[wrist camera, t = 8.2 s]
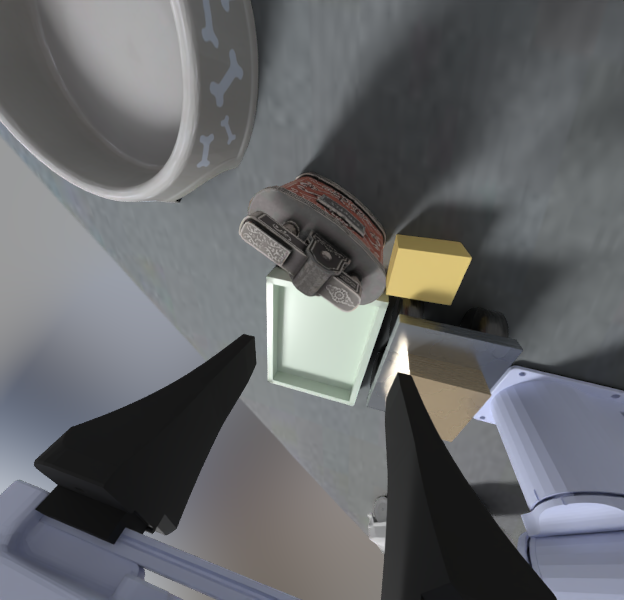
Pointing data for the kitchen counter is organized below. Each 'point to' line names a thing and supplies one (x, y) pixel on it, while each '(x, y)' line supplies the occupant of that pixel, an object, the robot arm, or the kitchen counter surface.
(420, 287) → the block
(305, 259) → the lighter
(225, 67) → the dog bowl
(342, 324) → the tray
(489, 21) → the kitchen counter surface
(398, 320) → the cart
